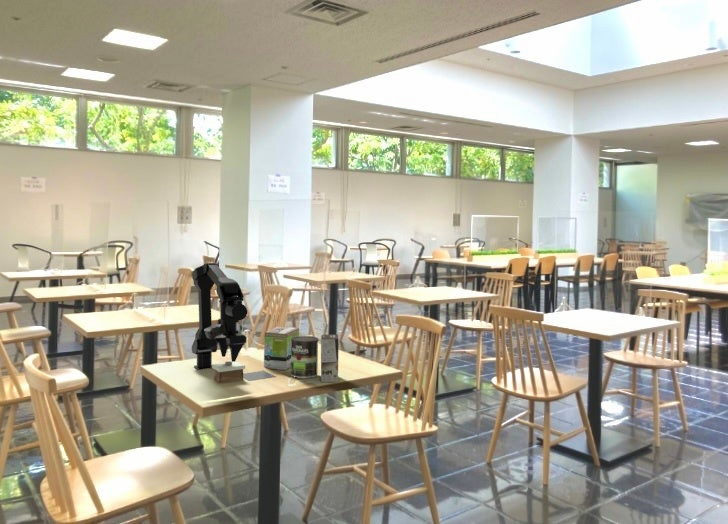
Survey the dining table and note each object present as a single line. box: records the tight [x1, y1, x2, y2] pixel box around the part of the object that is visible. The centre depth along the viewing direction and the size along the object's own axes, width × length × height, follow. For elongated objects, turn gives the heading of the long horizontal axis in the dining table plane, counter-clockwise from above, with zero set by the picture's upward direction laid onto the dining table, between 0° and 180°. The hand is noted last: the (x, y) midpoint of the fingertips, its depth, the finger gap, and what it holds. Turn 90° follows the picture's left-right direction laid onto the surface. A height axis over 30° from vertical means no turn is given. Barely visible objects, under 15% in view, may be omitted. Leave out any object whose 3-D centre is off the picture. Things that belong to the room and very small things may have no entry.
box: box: [213, 369, 244, 384], centre depth 215 cm, size 5×9×5 cm, turn 125°
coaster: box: [243, 370, 277, 382], centre depth 221 cm, size 11×11×1 cm
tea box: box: [263, 326, 300, 371], centre depth 241 cm, size 15×10×15 cm, turn 168°
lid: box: [211, 361, 246, 372], centre depth 215 cm, size 7×10×3 cm
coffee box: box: [320, 334, 340, 383], centre depth 220 cm, size 9×6×16 cm
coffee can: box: [290, 335, 319, 379], centre depth 226 cm, size 10×10×14 cm
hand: (228, 359), depth 215 cm, fingers open, 9 cm apart
